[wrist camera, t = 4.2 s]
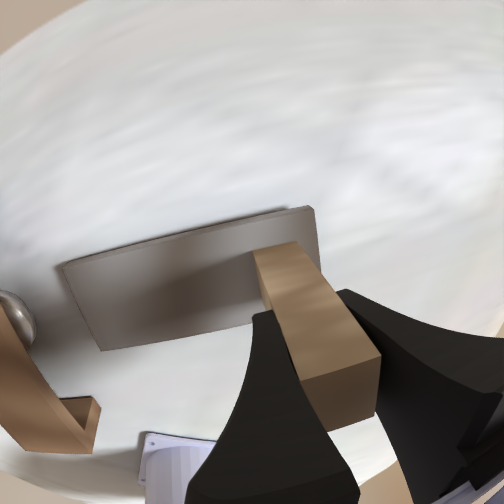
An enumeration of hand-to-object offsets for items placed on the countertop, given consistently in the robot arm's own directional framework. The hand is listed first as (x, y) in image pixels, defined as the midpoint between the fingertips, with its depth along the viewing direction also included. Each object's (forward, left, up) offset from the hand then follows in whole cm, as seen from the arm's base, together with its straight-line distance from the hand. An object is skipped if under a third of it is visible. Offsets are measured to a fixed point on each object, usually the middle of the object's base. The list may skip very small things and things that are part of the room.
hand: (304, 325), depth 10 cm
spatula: (-2, +3, -5) cm, 6 cm away
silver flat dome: (-8, +14, -6) cm, 17 cm away
